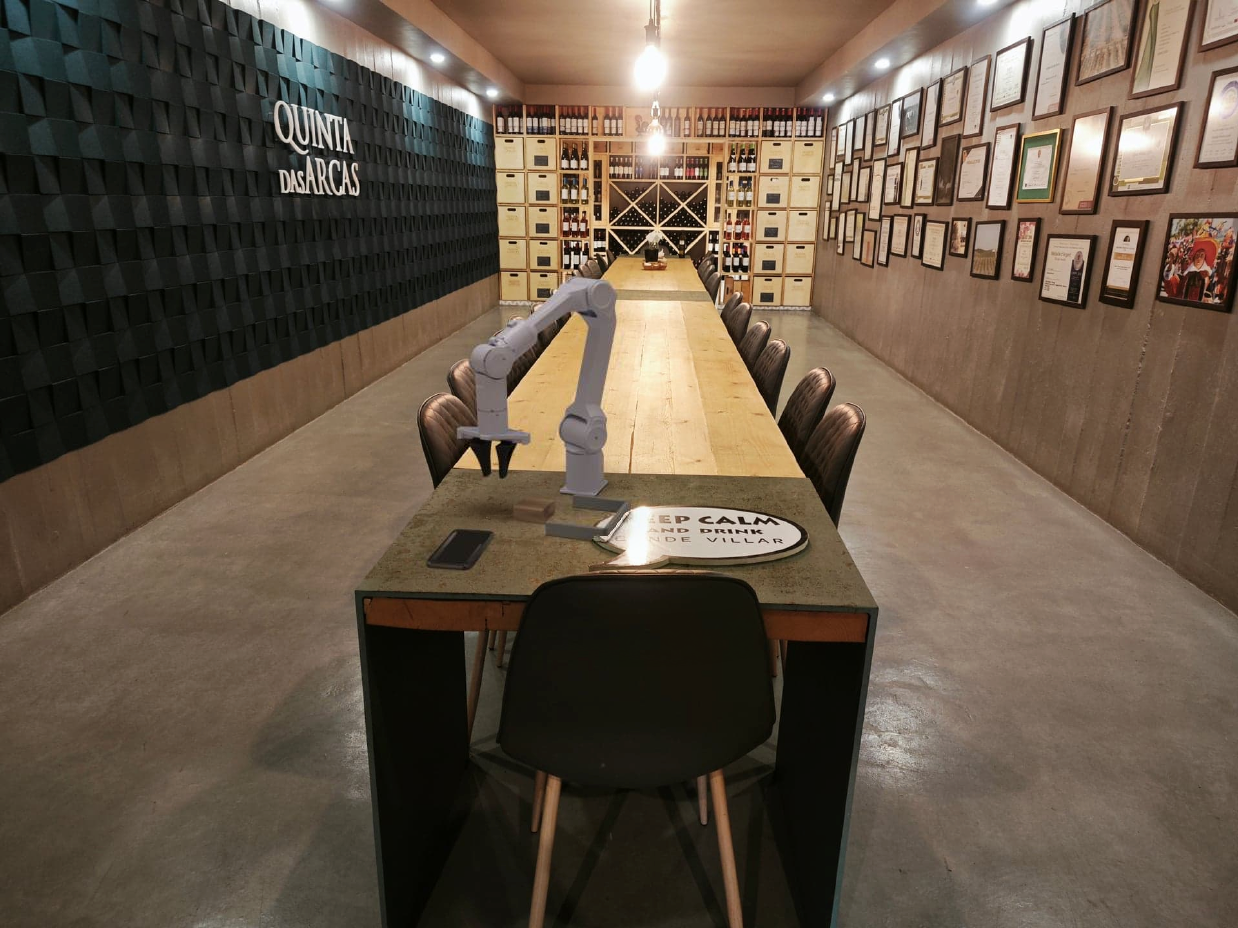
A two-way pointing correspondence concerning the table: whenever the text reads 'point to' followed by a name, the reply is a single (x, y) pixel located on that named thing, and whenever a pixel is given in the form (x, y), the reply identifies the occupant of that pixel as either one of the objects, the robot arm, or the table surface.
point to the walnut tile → (533, 510)
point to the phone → (460, 549)
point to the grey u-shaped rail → (589, 531)
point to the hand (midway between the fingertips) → (495, 476)
